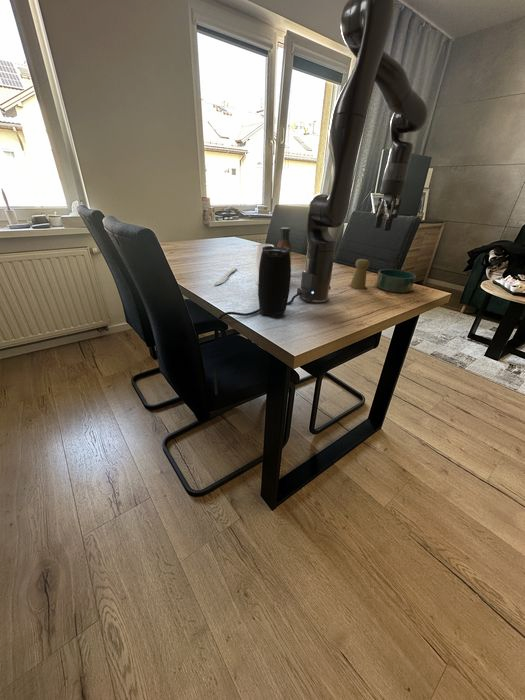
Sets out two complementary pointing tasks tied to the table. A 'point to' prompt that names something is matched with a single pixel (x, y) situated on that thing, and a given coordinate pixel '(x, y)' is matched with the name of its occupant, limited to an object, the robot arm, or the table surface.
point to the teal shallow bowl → (395, 280)
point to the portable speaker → (274, 280)
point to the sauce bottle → (285, 239)
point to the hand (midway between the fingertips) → (382, 229)
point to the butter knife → (225, 276)
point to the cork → (360, 274)
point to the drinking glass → (258, 256)
